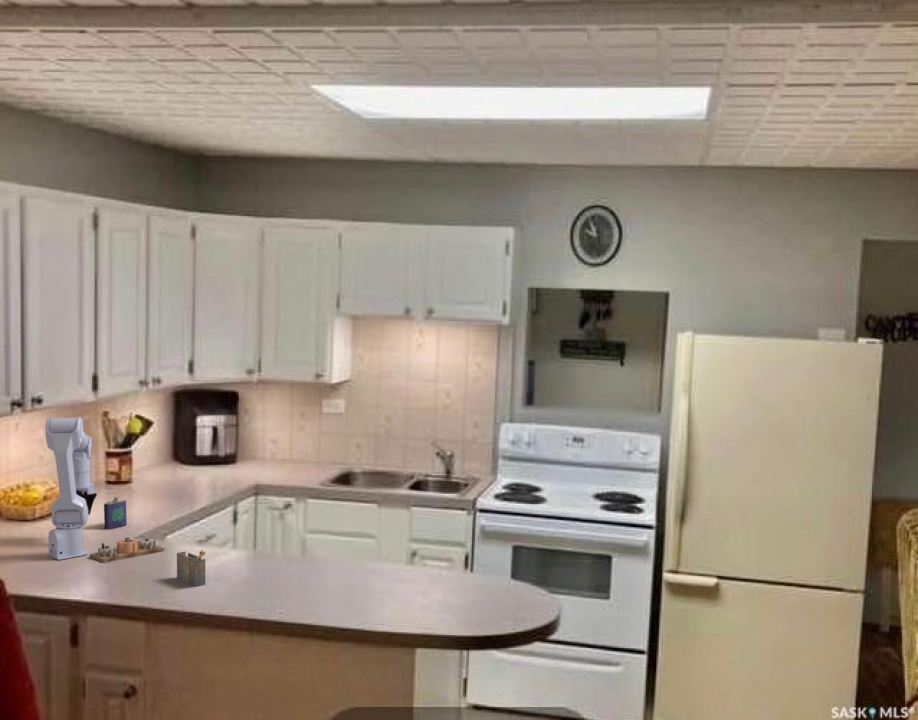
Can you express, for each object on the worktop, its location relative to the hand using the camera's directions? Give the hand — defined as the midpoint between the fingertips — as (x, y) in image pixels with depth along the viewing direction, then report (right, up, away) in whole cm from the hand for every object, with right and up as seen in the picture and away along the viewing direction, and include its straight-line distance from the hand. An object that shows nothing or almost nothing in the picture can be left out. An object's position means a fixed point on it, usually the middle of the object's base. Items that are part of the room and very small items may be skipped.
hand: (81, 513), depth 309 cm
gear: (+20, -9, -14) cm, 27 cm away
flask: (+3, -9, +22) cm, 24 cm away
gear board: (+20, -10, -14) cm, 27 cm away
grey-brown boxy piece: (+48, -13, -43) cm, 66 cm away
